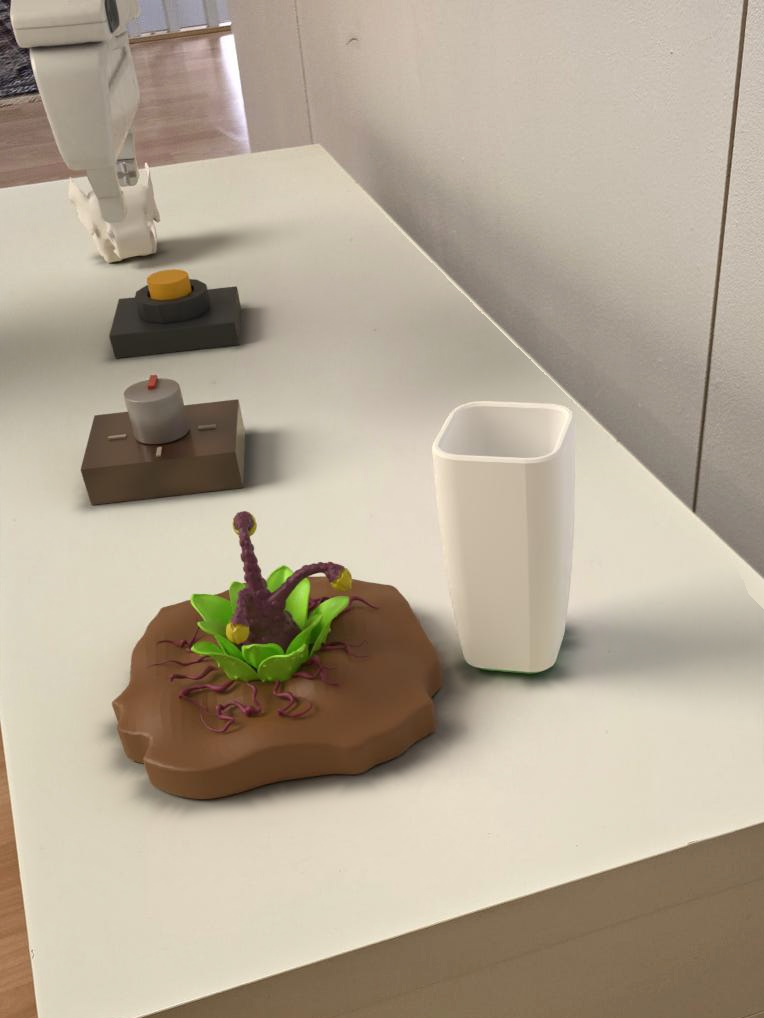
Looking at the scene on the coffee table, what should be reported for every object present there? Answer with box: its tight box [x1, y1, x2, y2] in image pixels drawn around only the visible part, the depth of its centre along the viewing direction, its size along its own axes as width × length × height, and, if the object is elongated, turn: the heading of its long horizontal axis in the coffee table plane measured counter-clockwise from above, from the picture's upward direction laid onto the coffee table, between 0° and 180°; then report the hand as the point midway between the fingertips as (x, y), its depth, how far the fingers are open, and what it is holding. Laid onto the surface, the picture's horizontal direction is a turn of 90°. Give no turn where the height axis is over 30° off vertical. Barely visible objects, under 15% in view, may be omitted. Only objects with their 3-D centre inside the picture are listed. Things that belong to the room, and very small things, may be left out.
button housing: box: [108, 278, 242, 359], centre depth 120 cm, size 12×10×4 cm
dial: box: [123, 374, 189, 444], centre depth 97 cm, size 4×4×4 cm
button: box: [146, 269, 192, 300], centre depth 119 cm, size 4×4×2 cm
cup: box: [431, 400, 576, 675], centre depth 73 cm, size 7×7×15 cm
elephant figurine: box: [67, 162, 161, 263], centre depth 136 cm, size 10×12×9 cm
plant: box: [111, 510, 443, 800], centre depth 73 cm, size 20×20×11 cm
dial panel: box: [80, 398, 246, 506], centre depth 99 cm, size 12×10×3 cm
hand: (122, 201), depth 98 cm, fingers open, 8 cm apart
